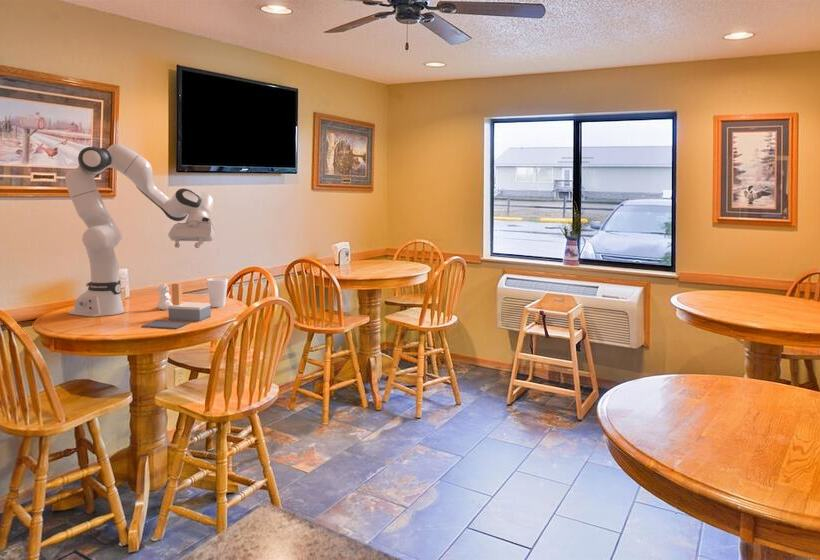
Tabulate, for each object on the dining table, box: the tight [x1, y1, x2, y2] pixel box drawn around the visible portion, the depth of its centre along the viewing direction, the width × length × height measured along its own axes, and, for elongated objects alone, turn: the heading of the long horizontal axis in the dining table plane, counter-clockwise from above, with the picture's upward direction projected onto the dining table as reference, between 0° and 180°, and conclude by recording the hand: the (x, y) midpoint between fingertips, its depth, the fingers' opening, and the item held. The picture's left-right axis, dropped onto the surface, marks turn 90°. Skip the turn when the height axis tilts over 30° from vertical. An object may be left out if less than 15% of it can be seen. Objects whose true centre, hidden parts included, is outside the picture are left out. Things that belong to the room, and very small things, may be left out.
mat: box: [141, 319, 191, 330], centre depth 244 cm, size 15×11×1 cm
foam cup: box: [206, 277, 229, 308], centre depth 283 cm, size 10×9×13 cm
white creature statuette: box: [155, 283, 173, 311], centre depth 274 cm, size 10×9×12 cm
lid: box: [168, 282, 211, 310], centre depth 256 cm, size 14×10×10 cm
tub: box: [167, 305, 212, 322], centre depth 257 cm, size 14×10×5 cm
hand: (186, 247), depth 263 cm, fingers open, 8 cm apart
